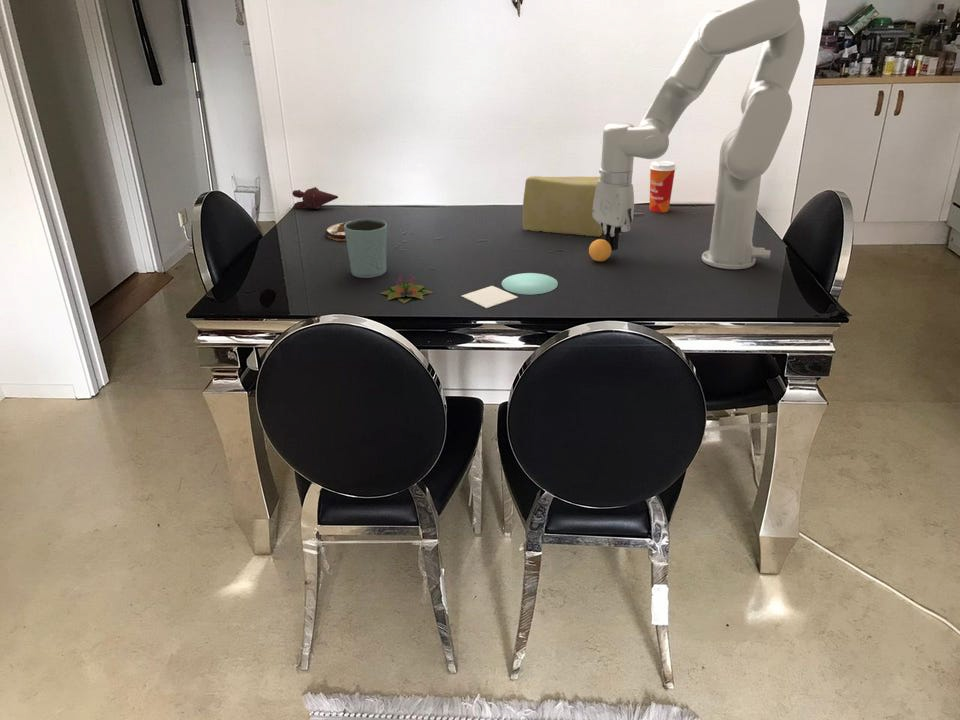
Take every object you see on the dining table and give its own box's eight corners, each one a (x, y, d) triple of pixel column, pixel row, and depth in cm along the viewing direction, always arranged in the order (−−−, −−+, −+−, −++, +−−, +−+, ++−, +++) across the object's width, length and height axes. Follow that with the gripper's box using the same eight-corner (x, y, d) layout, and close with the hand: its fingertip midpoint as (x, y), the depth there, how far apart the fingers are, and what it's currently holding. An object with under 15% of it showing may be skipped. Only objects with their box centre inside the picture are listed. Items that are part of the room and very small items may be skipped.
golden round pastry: (344, 248, 201) (342, 233, 199) (312, 237, 210) (310, 223, 208) (386, 235, 210) (385, 220, 208) (354, 225, 219) (352, 211, 217)
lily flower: (369, 296, 170) (367, 277, 168) (410, 281, 178) (408, 263, 176) (402, 310, 163) (401, 291, 161) (443, 294, 170) (442, 276, 168)
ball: (613, 254, 187) (611, 234, 184) (610, 265, 183) (608, 245, 180) (592, 255, 189) (589, 235, 186) (588, 265, 185) (586, 245, 182)
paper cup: (641, 208, 226) (644, 161, 219) (663, 205, 228) (668, 159, 221) (654, 215, 219) (658, 167, 213) (677, 212, 221) (682, 164, 215)
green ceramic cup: (345, 267, 186) (340, 221, 180) (384, 262, 189) (380, 215, 183) (354, 281, 177) (348, 232, 172) (395, 275, 180) (391, 227, 175)
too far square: (492, 286, 172) (492, 285, 172) (517, 297, 166) (517, 296, 166) (461, 296, 167) (461, 295, 167) (486, 308, 161) (486, 307, 161)
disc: (562, 276, 177) (562, 275, 177) (551, 296, 166) (551, 296, 166) (509, 271, 180) (509, 271, 180) (495, 291, 169) (495, 290, 169)
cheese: (520, 235, 206) (520, 180, 199) (525, 224, 214) (525, 172, 207) (600, 238, 202) (603, 183, 195) (603, 227, 210) (606, 174, 203)
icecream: (341, 185, 234) (296, 188, 237) (332, 185, 227) (286, 188, 230) (343, 207, 235) (299, 210, 238) (334, 208, 228) (289, 211, 231)
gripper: (583, 173, 182) (579, 245, 191) (628, 185, 172) (622, 260, 180) (605, 168, 186) (600, 239, 195) (650, 180, 176) (643, 254, 184)
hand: (610, 249), depth 188 cm, fingers closed
